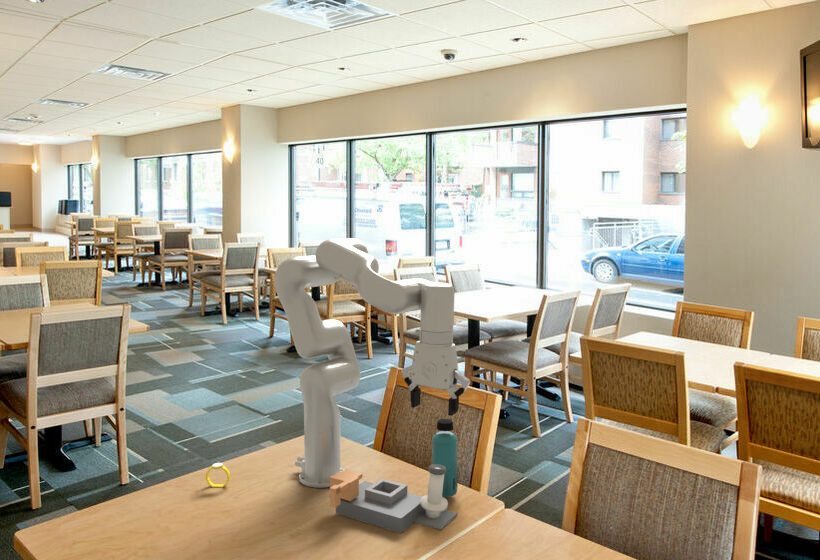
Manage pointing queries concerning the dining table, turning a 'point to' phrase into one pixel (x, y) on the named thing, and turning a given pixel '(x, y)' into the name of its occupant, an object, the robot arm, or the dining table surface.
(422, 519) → the mat
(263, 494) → the dining table surface
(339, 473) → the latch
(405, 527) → the grey base plate
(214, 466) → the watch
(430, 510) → the plug
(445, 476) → the beverage bottle
